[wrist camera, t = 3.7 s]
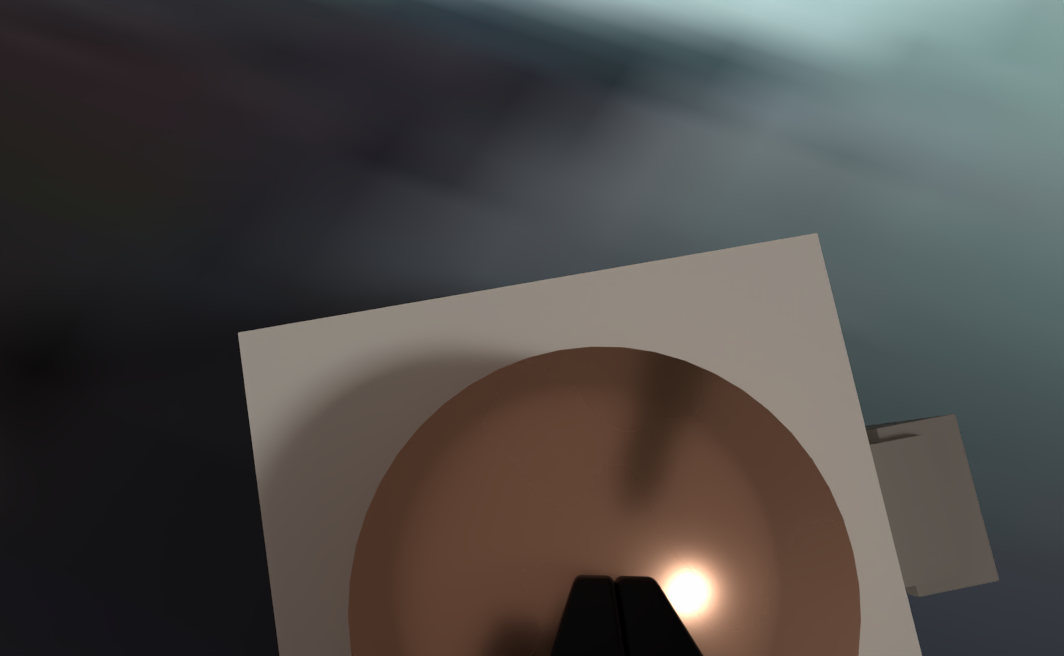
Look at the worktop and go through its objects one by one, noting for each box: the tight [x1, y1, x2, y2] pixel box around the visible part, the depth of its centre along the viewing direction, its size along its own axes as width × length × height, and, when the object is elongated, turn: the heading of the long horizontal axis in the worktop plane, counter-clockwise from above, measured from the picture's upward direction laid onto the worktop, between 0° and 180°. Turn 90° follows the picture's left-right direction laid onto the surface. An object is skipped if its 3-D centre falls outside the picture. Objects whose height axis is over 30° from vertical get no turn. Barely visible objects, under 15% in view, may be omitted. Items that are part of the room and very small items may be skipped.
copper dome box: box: [238, 233, 999, 656], centre depth 15 cm, size 8×10×8 cm
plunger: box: [348, 347, 861, 656], centre depth 13 cm, size 6×6×7 cm
